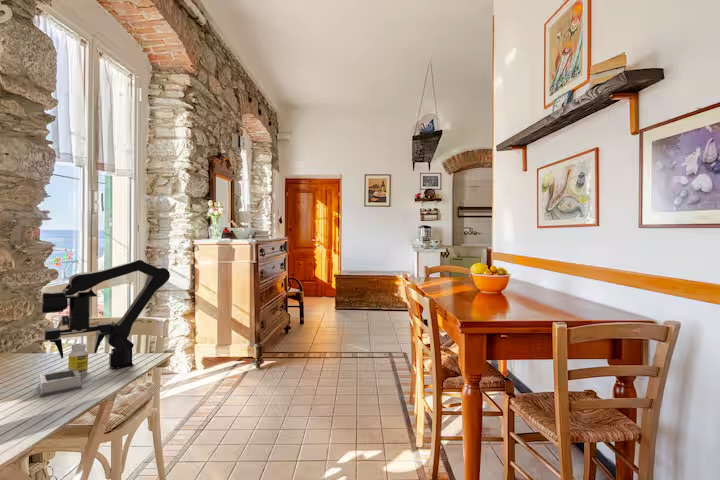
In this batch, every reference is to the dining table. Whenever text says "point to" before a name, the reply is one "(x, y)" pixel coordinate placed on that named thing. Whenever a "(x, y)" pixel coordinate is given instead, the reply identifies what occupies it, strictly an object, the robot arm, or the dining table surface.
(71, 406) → the dining table surface
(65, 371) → the socket collar
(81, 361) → the supplement bottle
